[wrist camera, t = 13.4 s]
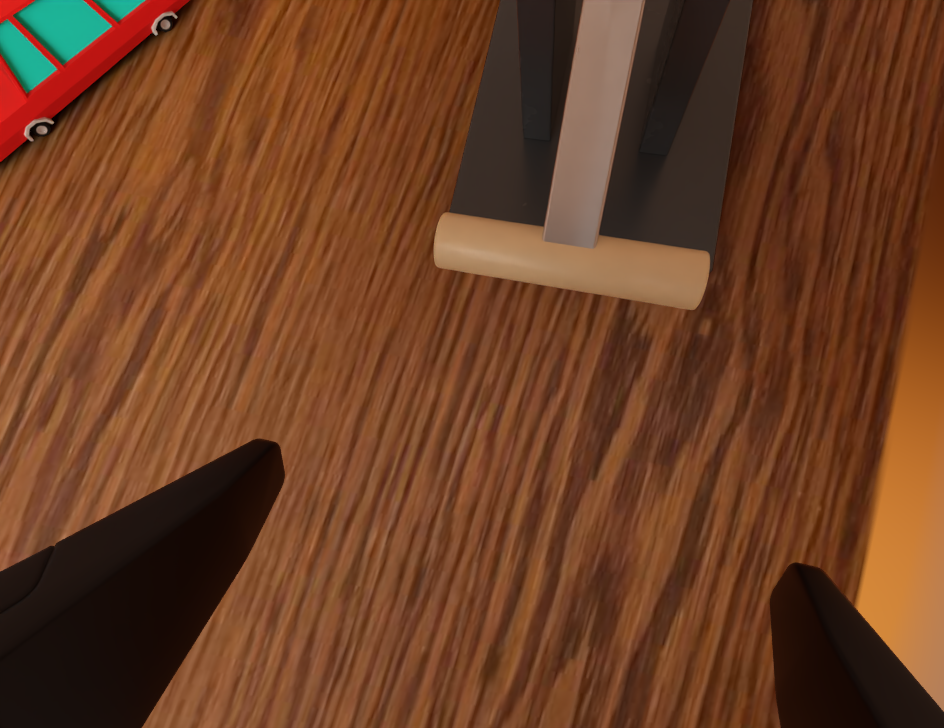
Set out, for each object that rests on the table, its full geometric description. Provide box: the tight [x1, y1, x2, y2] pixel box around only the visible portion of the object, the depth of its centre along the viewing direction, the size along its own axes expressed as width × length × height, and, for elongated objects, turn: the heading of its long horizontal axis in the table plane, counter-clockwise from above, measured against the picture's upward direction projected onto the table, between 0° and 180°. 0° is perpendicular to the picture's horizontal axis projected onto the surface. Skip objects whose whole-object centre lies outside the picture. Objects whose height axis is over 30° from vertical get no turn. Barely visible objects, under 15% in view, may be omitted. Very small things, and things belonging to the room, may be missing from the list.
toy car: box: [0, 0, 190, 162], centre depth 22 cm, size 6×12×4 cm, turn 132°
